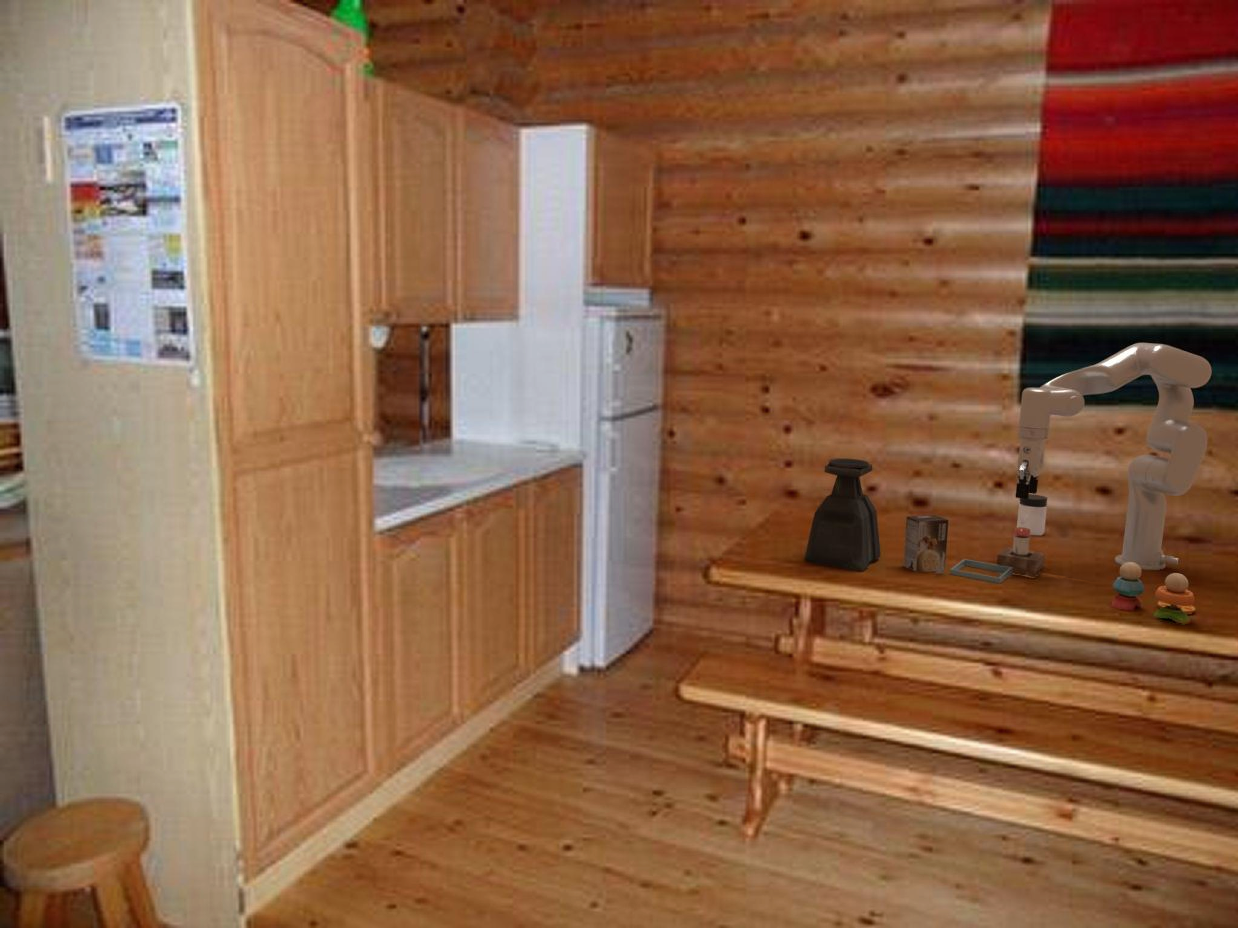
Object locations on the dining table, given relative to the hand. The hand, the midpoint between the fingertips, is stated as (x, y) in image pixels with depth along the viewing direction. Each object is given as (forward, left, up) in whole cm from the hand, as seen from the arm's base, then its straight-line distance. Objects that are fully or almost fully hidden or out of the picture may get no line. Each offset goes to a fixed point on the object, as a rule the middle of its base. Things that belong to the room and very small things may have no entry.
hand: (1026, 495), depth 258 cm
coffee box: (+20, +21, -22) cm, 36 cm away
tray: (+7, +13, -22) cm, 26 cm away
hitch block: (0, 0, -22) cm, 22 cm away
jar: (+8, -49, -22) cm, 54 cm away
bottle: (+40, +29, -22) cm, 54 cm away
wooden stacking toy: (-35, +17, -22) cm, 45 cm away
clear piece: (0, 0, -21) cm, 21 cm away
